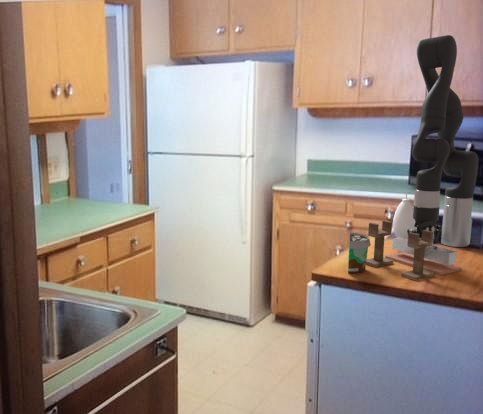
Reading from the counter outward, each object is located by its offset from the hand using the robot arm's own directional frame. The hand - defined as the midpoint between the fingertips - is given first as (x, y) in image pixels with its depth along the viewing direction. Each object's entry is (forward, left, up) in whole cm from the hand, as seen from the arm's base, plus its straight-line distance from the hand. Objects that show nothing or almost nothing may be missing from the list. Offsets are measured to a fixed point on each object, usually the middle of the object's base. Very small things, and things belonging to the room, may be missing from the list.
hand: (422, 258), depth 169 cm
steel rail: (0, 0, +1) cm, 1 cm away
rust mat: (0, 0, -2) cm, 2 cm away
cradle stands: (+12, 0, -2) cm, 12 cm away
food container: (+22, -6, -2) cm, 22 cm away
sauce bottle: (-18, -23, -2) cm, 30 cm away
